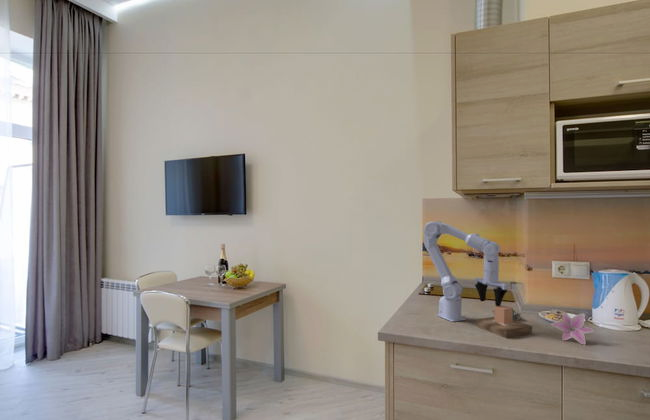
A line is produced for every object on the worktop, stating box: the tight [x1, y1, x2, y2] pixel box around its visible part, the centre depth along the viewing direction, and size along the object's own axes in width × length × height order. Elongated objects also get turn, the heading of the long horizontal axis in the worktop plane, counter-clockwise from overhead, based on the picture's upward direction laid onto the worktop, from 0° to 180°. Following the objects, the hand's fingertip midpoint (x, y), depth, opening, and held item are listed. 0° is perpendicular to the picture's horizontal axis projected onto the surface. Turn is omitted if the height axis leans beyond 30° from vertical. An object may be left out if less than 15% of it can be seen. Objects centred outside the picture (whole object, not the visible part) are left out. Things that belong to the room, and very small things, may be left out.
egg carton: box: [491, 308, 522, 321], centre depth 160 cm, size 11×8×4 cm
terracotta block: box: [493, 304, 514, 324], centre depth 143 cm, size 5×5×6 cm
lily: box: [550, 312, 595, 345], centre depth 134 cm, size 12×12×10 cm
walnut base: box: [476, 316, 533, 339], centre depth 143 cm, size 14×14×3 cm
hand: (490, 303), depth 148 cm, fingers open, 7 cm apart
